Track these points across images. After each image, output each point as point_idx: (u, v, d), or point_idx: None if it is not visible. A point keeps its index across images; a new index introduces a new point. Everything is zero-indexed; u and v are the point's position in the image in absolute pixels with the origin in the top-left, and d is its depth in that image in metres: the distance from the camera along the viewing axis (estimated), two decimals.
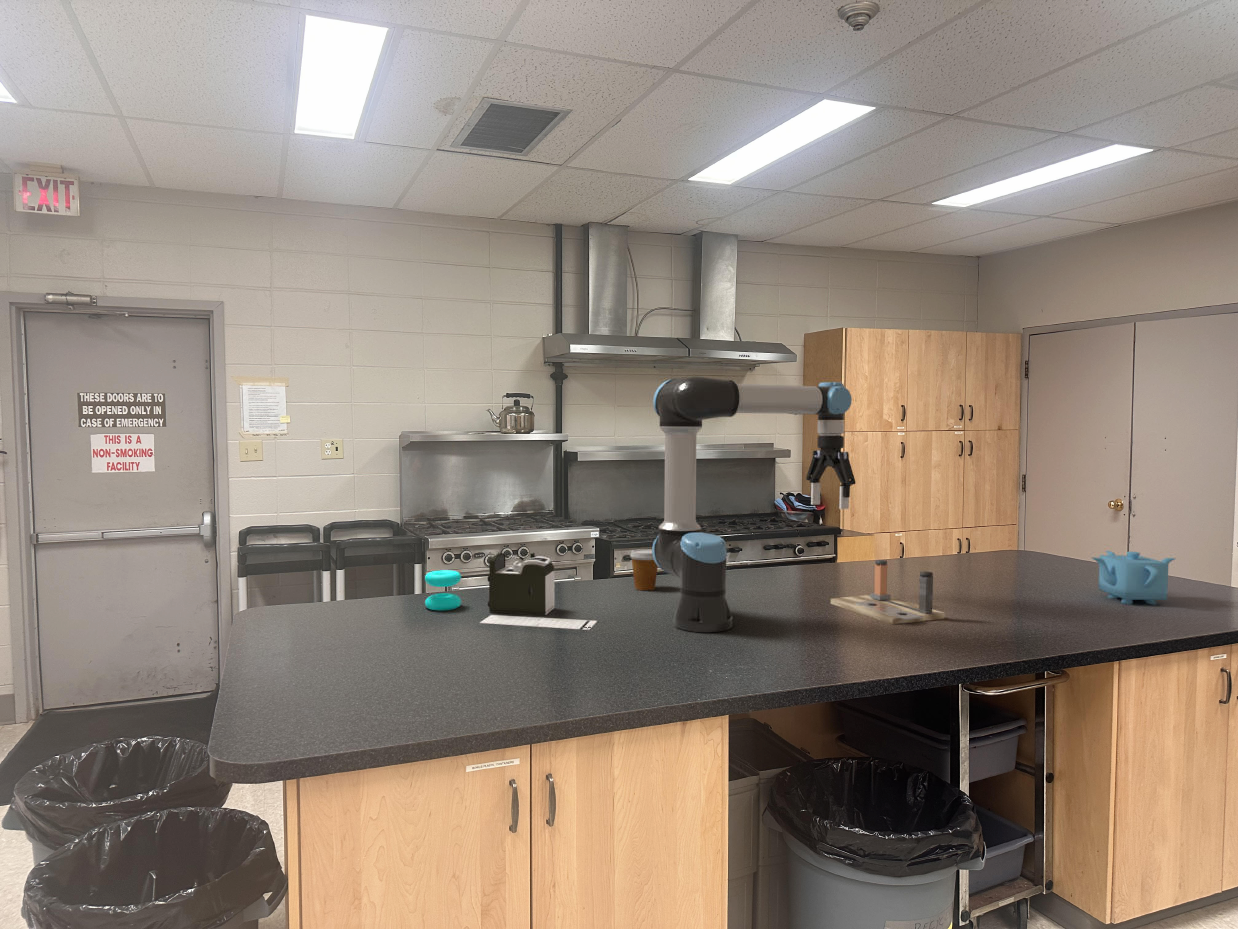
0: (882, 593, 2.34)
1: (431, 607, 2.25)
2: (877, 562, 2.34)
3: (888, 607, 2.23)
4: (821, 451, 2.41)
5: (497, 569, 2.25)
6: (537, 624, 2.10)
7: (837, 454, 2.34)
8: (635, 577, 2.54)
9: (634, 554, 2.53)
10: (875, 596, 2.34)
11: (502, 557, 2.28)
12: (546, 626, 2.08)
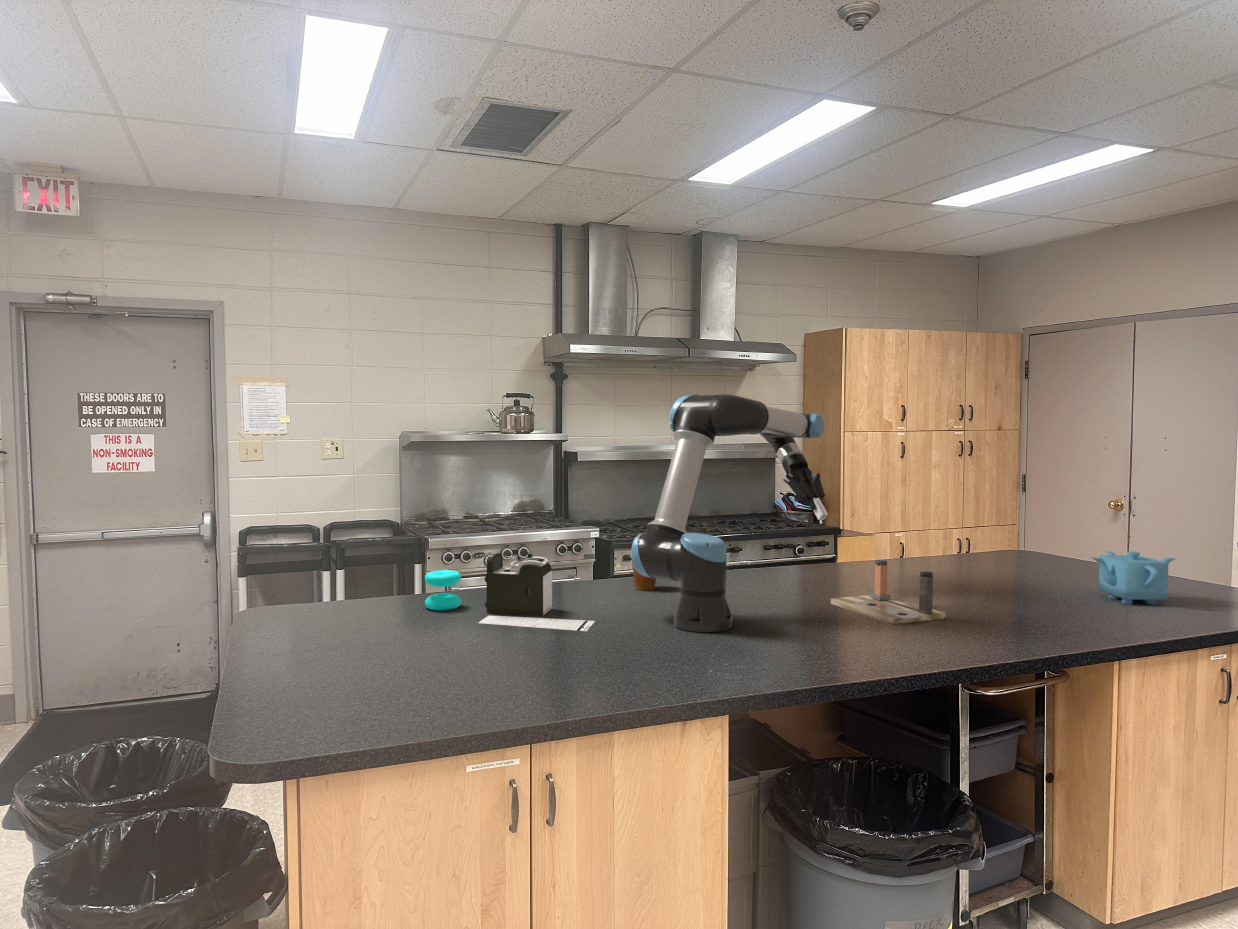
0: (882, 593, 2.34)
1: (431, 607, 2.25)
2: (877, 562, 2.34)
3: (888, 607, 2.23)
4: (791, 469, 2.56)
5: (494, 569, 2.24)
6: (535, 624, 2.10)
7: (811, 473, 2.58)
8: (635, 577, 2.54)
9: None
10: (875, 596, 2.34)
11: (499, 558, 2.28)
12: (544, 626, 2.08)
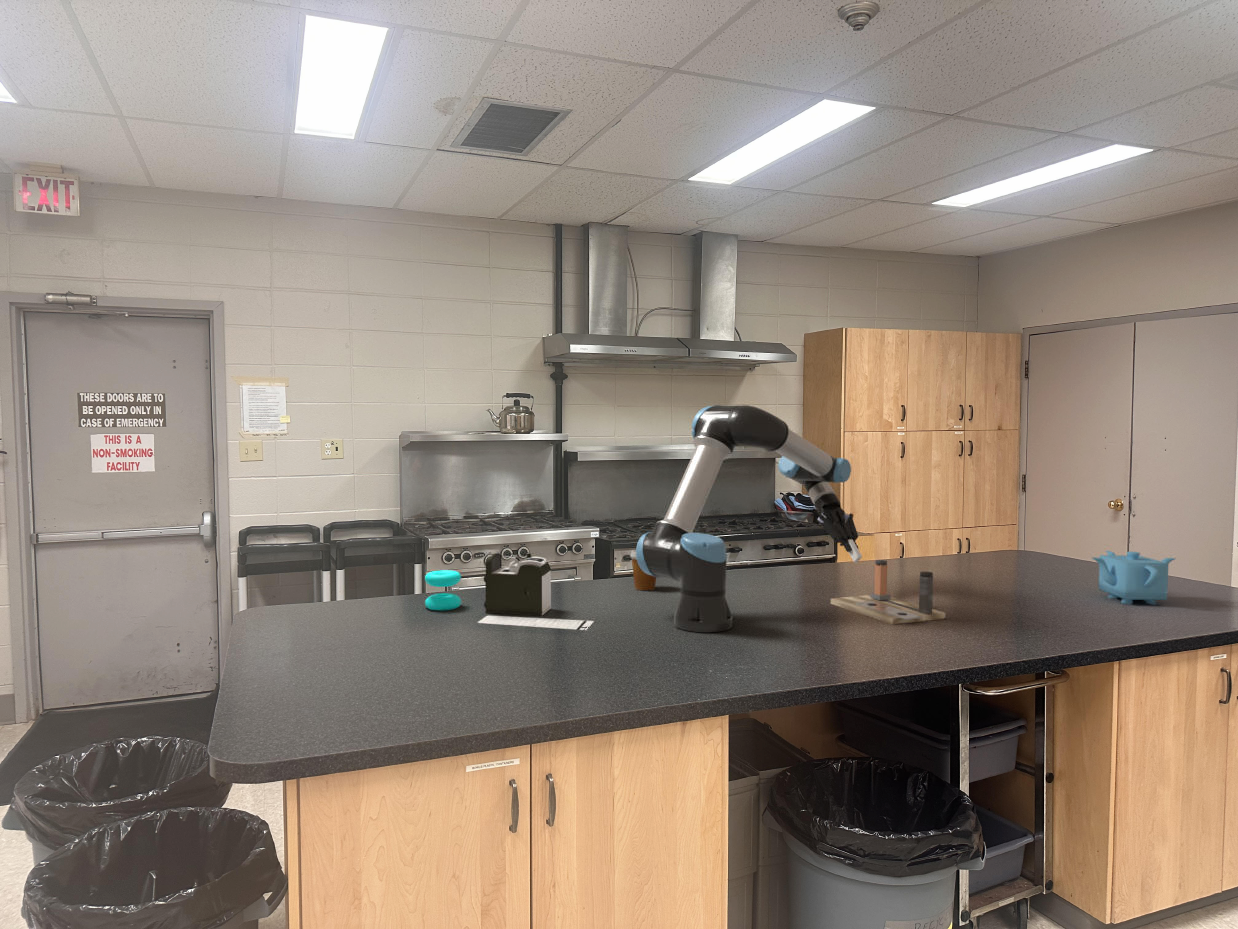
0: (882, 593, 2.34)
1: (431, 607, 2.25)
2: (877, 562, 2.34)
3: (888, 607, 2.23)
4: (824, 510, 2.55)
5: (493, 569, 2.24)
6: (534, 624, 2.10)
7: (844, 513, 2.57)
8: (635, 577, 2.54)
9: (634, 554, 2.53)
10: (875, 596, 2.34)
11: (498, 558, 2.28)
12: (543, 626, 2.08)
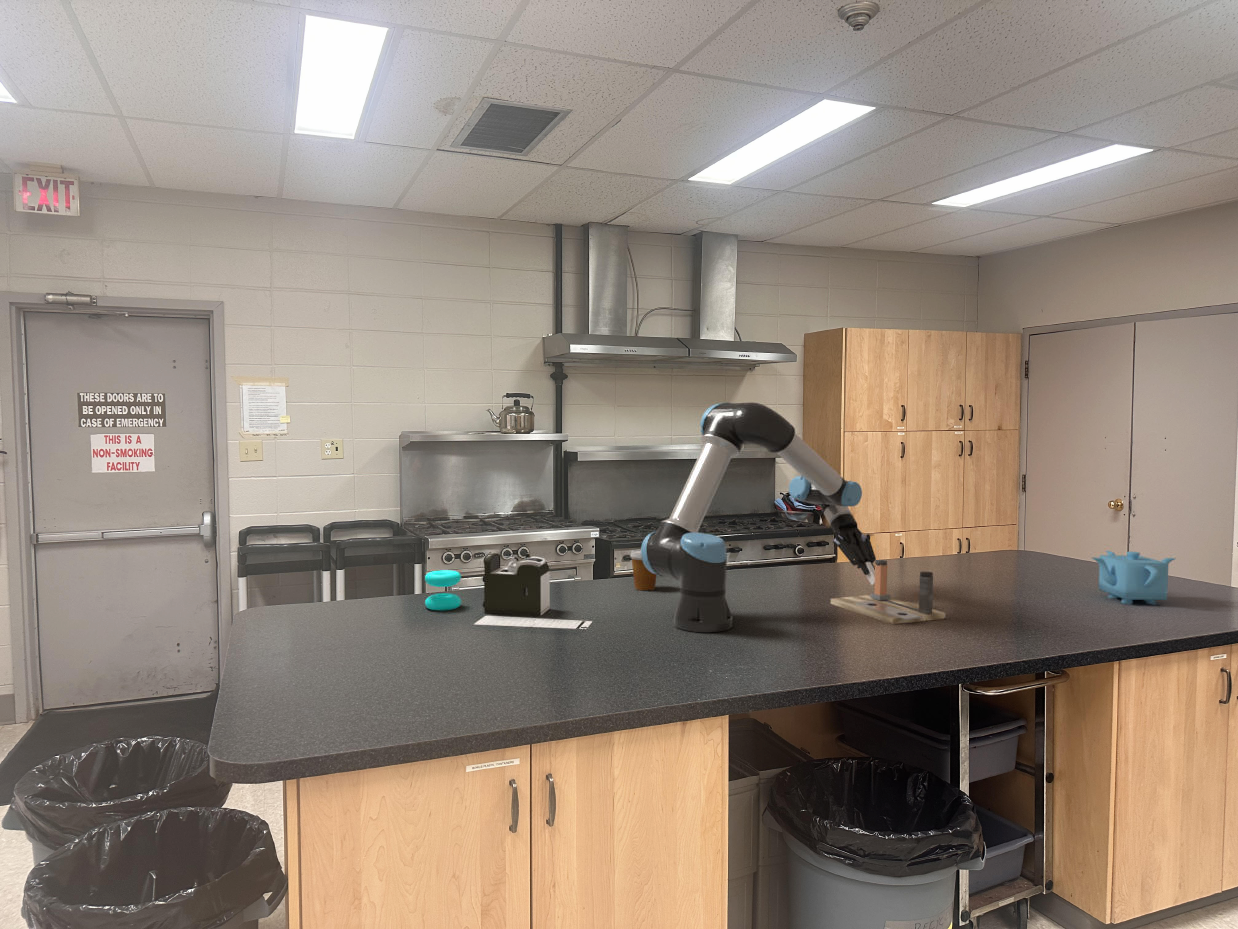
0: (882, 593, 2.34)
1: (431, 607, 2.25)
2: (877, 562, 2.34)
3: (888, 607, 2.23)
4: (840, 530, 2.47)
5: (492, 569, 2.24)
6: (532, 625, 2.09)
7: (861, 534, 2.49)
8: (635, 577, 2.54)
9: (634, 554, 2.53)
10: (875, 596, 2.34)
11: (497, 558, 2.28)
12: None
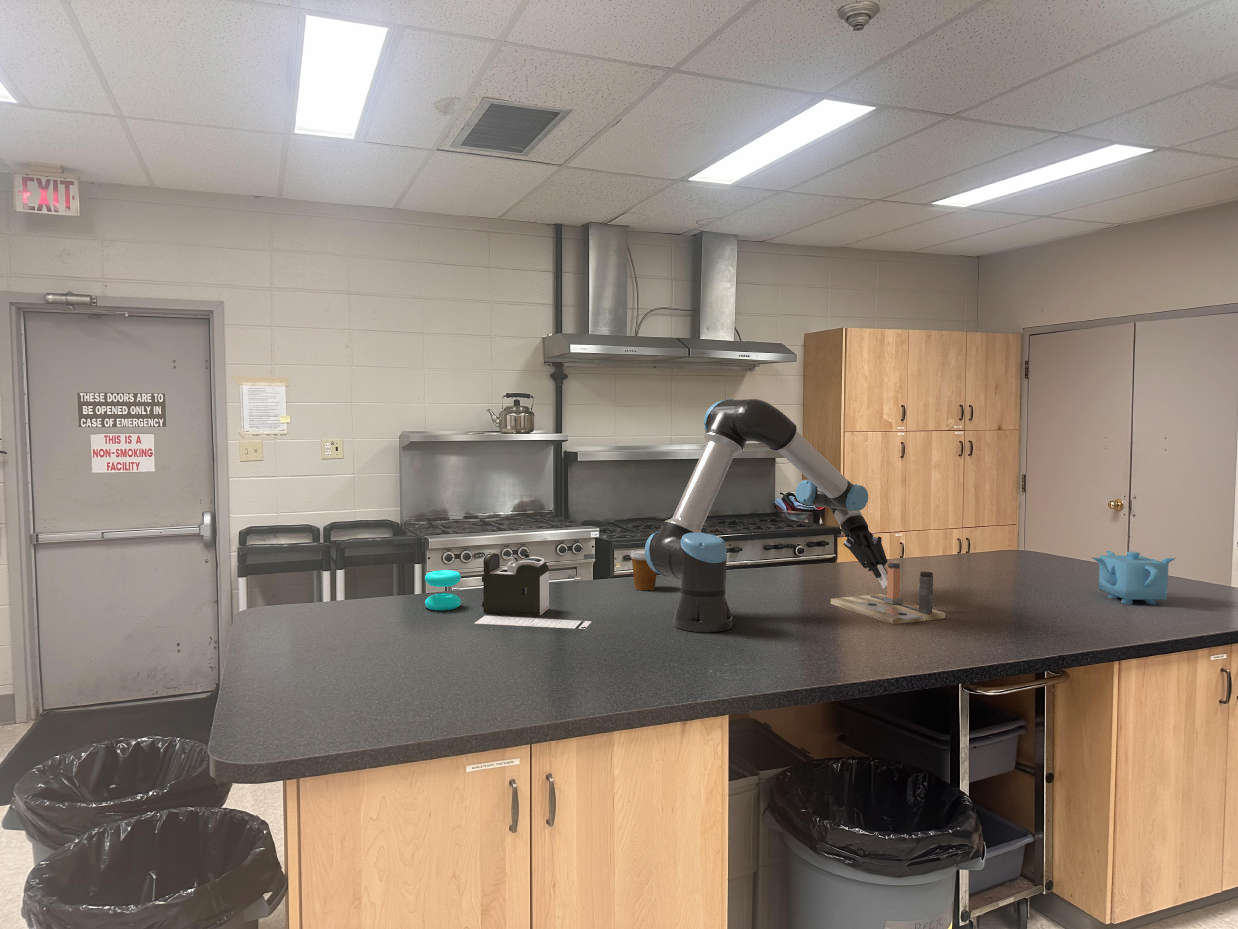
0: (895, 597, 2.29)
1: (431, 607, 2.25)
2: (890, 565, 2.29)
3: (888, 607, 2.23)
4: (851, 533, 2.42)
5: (491, 569, 2.24)
6: (531, 625, 2.09)
7: (872, 536, 2.44)
8: (635, 577, 2.54)
9: (634, 554, 2.53)
10: (888, 600, 2.29)
11: (496, 558, 2.28)
12: None
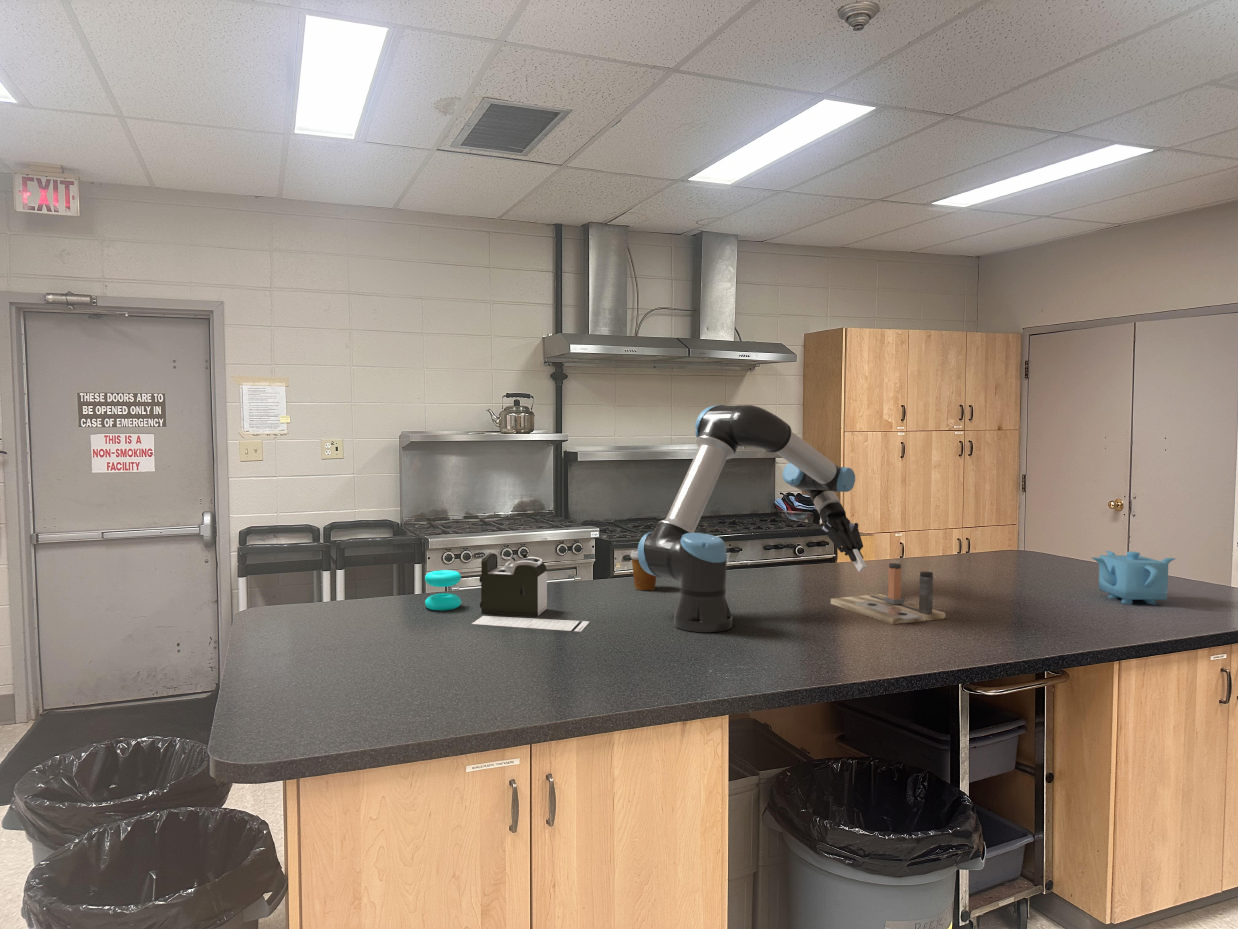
0: (896, 597, 2.29)
1: (431, 607, 2.25)
2: (891, 565, 2.29)
3: (888, 607, 2.23)
4: (829, 518, 2.52)
5: (489, 570, 2.23)
6: (529, 625, 2.09)
7: (849, 522, 2.54)
8: (635, 577, 2.54)
9: (634, 554, 2.53)
10: (889, 600, 2.29)
11: (494, 558, 2.27)
12: (538, 627, 2.07)
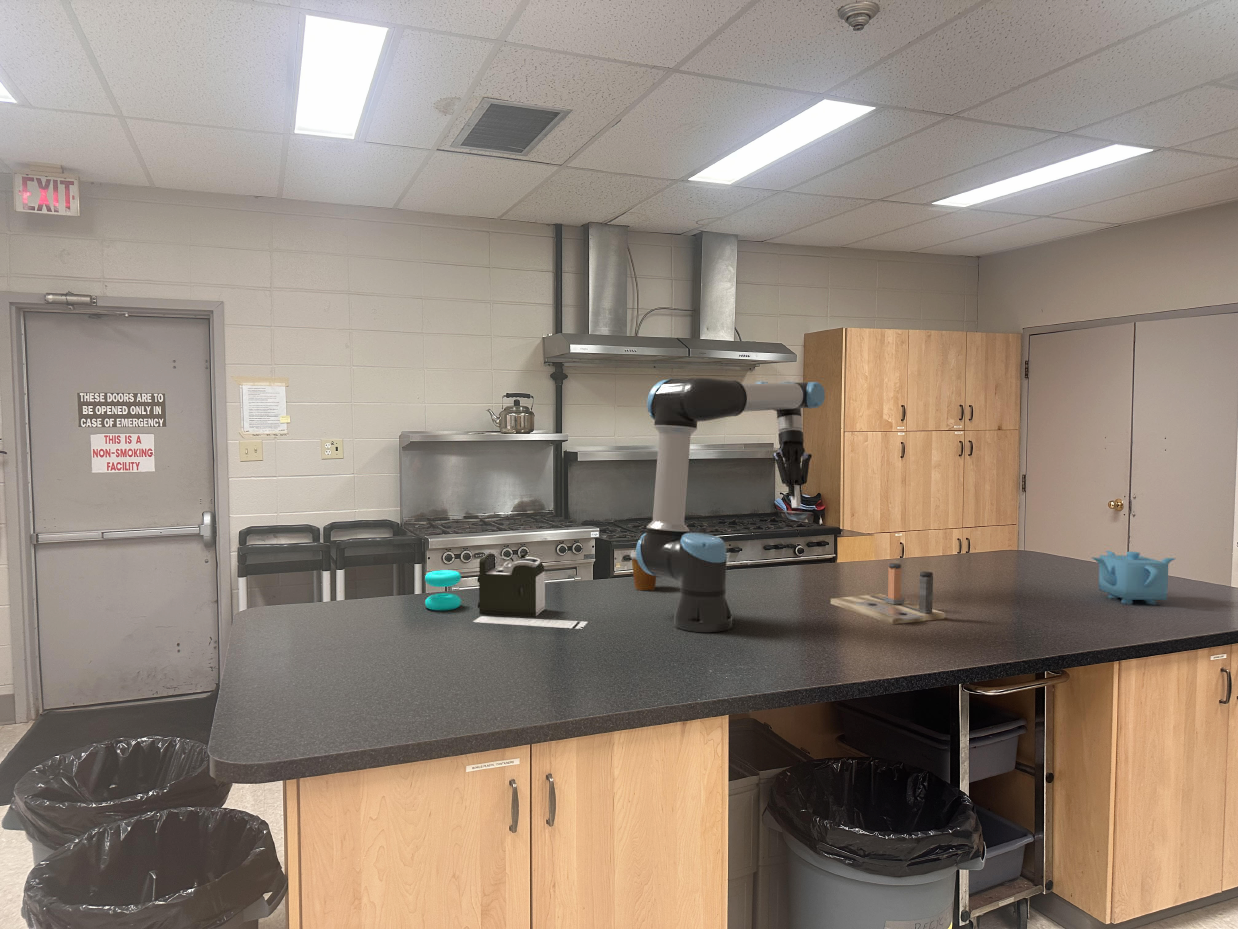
0: (896, 597, 2.29)
1: (431, 607, 2.25)
2: (891, 565, 2.29)
3: (888, 607, 2.23)
4: (784, 446, 2.47)
5: (487, 570, 2.23)
6: (528, 625, 2.09)
7: (804, 452, 2.49)
8: (635, 577, 2.54)
9: (634, 554, 2.53)
10: (889, 600, 2.29)
11: (492, 558, 2.27)
12: None
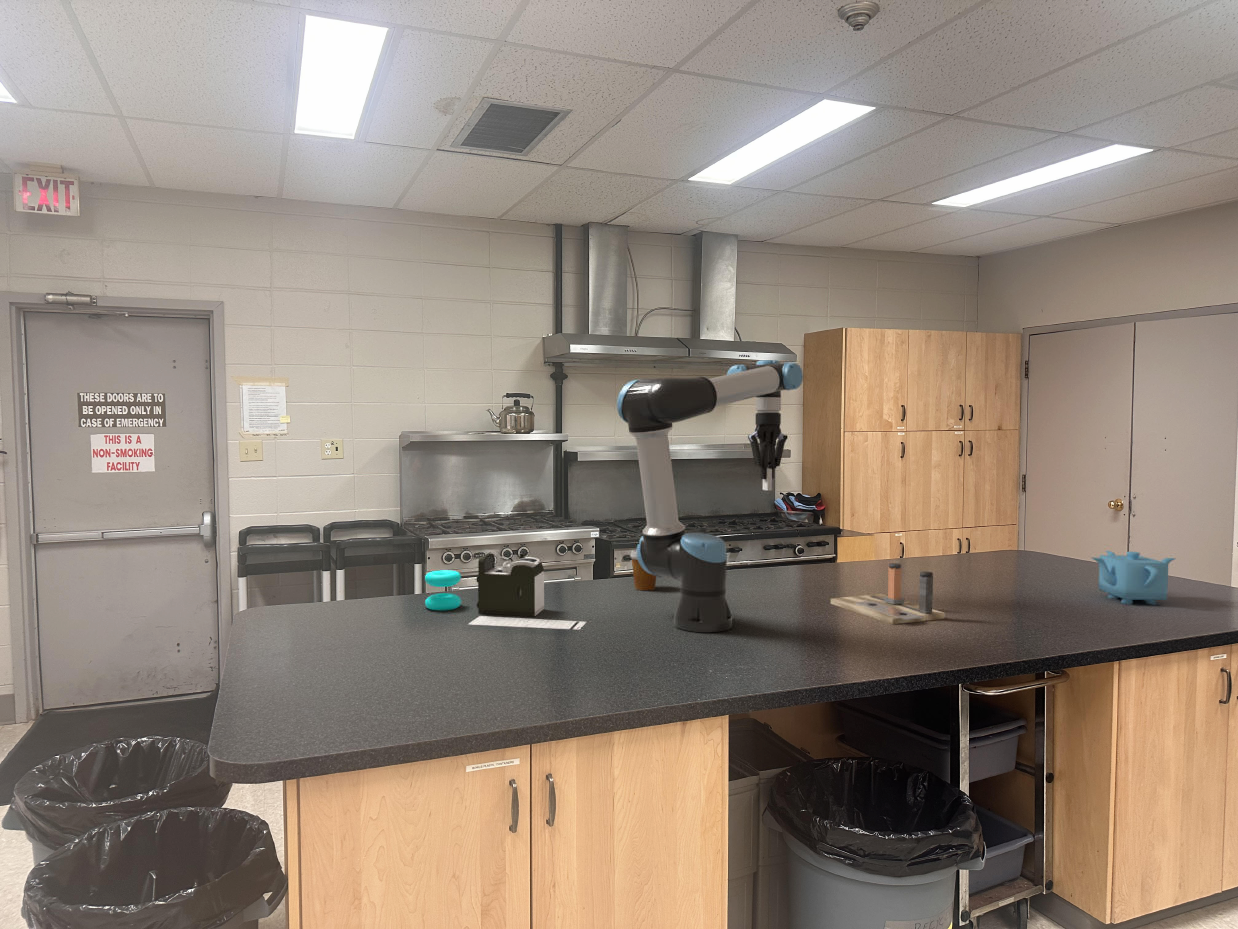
0: (896, 597, 2.29)
1: (431, 607, 2.25)
2: (891, 565, 2.29)
3: (888, 607, 2.23)
4: (760, 428, 2.41)
5: (486, 570, 2.23)
6: (526, 625, 2.09)
7: (780, 433, 2.44)
8: (635, 577, 2.54)
9: (634, 554, 2.53)
10: (889, 600, 2.29)
11: (491, 558, 2.27)
12: (535, 627, 2.07)
